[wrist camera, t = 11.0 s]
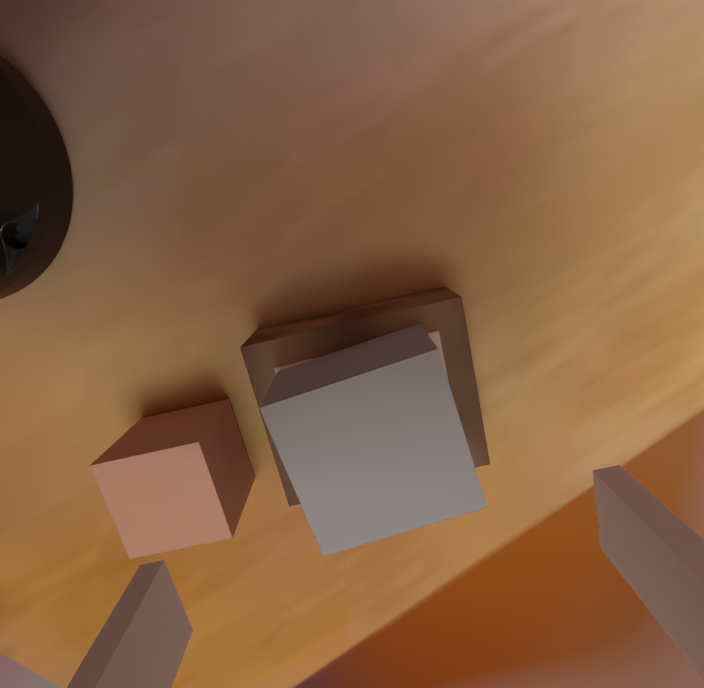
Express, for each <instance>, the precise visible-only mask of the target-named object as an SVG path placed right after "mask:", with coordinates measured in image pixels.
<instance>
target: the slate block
mask: <svg viewBox="0 0 704 688" xmlns="http://www.w3.org/2000/svg"><path fill="white" fill-rule="evenodd" d="M260 411H261V413H262V415H263V418H264V420H265V422H266V425H267V427H268V429H269V432H270V434H271V436H272V439H273V441H274V443H275V446H276V448H277V450H278V452H279V455H280V457H281V459H282V462H283V464H284V466H285V469H286V471H287V473H288V476H289V478H290V480H291V483H292V485H293V487H294V489H295V492H296V494H297V496H298V499H299V501H300V503H301V506H302V508H303V510H304V513H305V515H306V517H307V520H308V522H309V524H310V527H311V529H312V531H313V533H314V536H315V538H316V540H317V543H318V545H319V547H320V550H321V552H322V554H323V556H327V555H330V554H333V553H337V552H340V551H343V550H347V549H350V548H353V547H357V546H360V545H363V544H367V543H370V542H373V541H377V540H380V539H383V538H387V537H390V536H393V535H397V534H400V533H403V532H407V531H410V530H413V529H417V528H420V527H423V526H427V525H430V524H433V523H437V522H440V521H443V520H447V519H450V518H453V517H457V516H460V515H463V514H467V513H470V512H473V511H477V510H480V509H483V508H487V505H486V502H485V499H484V496H483V492H482V489H481V486H480V483H479V479H478V476H477V473H476V470H475V466H474V463H473V460H472V457H471V453H470V450H469V447H468V444H467V440H466V437H465V434H464V431H463V427H462V424H461V421H460V418H459V415H458V411H457V408H456V405H455V402H454V398H453V395H452V392H451V389H450V385H449V382H448V379H447V376H446V372H445V369H444V366H443V363H442V359H441V356H440V353H439V350H438V348H437V346H436V345H435V344H434V342H433V341H432V340H431V338H430V337H429V336H428V334H427V333H426V332H425V330H424V329H423V328H422V326H421V325H420V324H417V325H414V326H411V327H408V328H405V329H402V330H399V331H396V332H393V333H390V334H387V335H384V336H381V337H378V338H375V339H372V340H369V341H366V342H363V343H360V344H357V345H354V346H352V347H349V348H346V349H343V350H340V351H337V352H334V353H331V354H328V355H325V356H322V357H319V358H316V359H313V360H310V361H307V362H304V363H301V364H298V365H295V366H292V367H289V368H286V369H283V370H280V371H278V372H277V374H276V376H275V378H274V380H273V382H272V384H271V386H270V388H269V390H268V392H267V394H266V396H265V398H264V400H263V402H262V404H261V406H260Z"/></svg>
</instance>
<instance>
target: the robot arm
mask: <svg viewBox="0 0 704 688" xmlns="http://www.w3.org/2000/svg"><path fill="white" fill-rule="evenodd" d="M71 202H72V188H71V176H70V169H69V164H68V159H67V156H66V152H65V148H64V145H63V142H62V139H61V137H60V135H59V132H58V130H57V127H56V125H55V123H54V121H53V119H52V117H51V115H50V114H49V112H48V110H47V108H46V107H45V105H44V104H43V102H42V101H41V99H40V97H39V96H38V95H37V93H36V92H35V91H34V89H33V88H32V87H31V86H30V84H29V83H28V82H27V81H26V80H25V78H24V77H23V76H22V75H21V74H20V73H19V72H18V71H17V70H16V69H15V68H14V67H13V66H12V65H11V64H10V63H9V62H7V61H6V60H5V59H4V58H3V57H1V56H0V299H1V298H4V297H6V296H9V295H11V294H13V293H16V292H18V291H19V290H21V289H23V288H24V287H26V286H27V285H29V284H30V283H32V282H33V281H34V280H35V279H36V278H38V277H39V276H40V275H41V274H42V273H43V272H44V271H45V269H46V268H47V267H48V266H49V264H50V263H51V262H52V260H53V259H54V257H55V256H56V254H57V252H58V250H59V248H60V246H61V244H62V242H63V240H64V237H65V234H66V231H67V227H68V223H69V218H70V213H71ZM593 478H594V488H595V498H596V508H597V518H598V528H599V538H600V548H601V549H602V551H603V552H604V553H605V554H606V556H607V557H608V558H609V559H610V561H611V562H612V563H613V565H614V566H615V567H616V568H617V570H618V571H619V572H620V574H621V575H622V576H623V577H624V579H625V580H626V581H627V582H628V584H629V585H630V586H631V588H632V589H633V590H634V591H635V593H636V594H637V595H638V596H639V598H640V599H641V600H642V602H643V603H644V604H645V605H646V606H647V608H648V609H649V611H650V612H651V613H652V614H653V615H654V617H655V618H656V619H657V621H658V622H659V623H660V624H661V626H662V627H663V628H664V630H665V631H666V632H667V633H668V635H669V636H670V637H671V639H672V640H673V641H674V642H675V644H676V645H677V646H678V647H679V648H680V650H681V651H682V653H683V654H684V655H685V656H686V658H687V659H688V660H689V662H690V663H691V664H692V665H693V667H694V668H695V669H696V670H697V672H698V673H699V674H700V676H701V677H702V678H703V679H704V540H703V539H702V538H701V537H700V536H698V535H697V534H696V533H695V532H694V531H693V530H692V529H691V528H690V527H688V526H687V525H686V524H685V523H684V522H683V521H682V520H680V519H679V518H678V517H677V516H676V515H675V514H674V513H673V512H671V511H670V510H669V509H668V508H667V507H666V506H665V505H663V504H662V503H661V502H660V501H659V500H658V499H657V498H656V497H655V496H653V495H652V494H651V493H650V492H649V491H648V490H647V489H645V488H644V487H643V486H642V485H641V484H640V483H639V482H638V481H636V480H635V479H634V478H633V477H632V476H630V474H629V473H627V472H626V471H625V470H624V469H623V468H622V467H621V466H620V465H617V466H613V467H608V468H603V469H598V470H593ZM192 631H193V629H192V626H191V624H190V621H189V619H188V617H187V614H186V612H185V609H184V607H183V605H182V602H181V600H180V597H179V595H178V593H177V590H176V588H175V585H174V583H173V581H172V578H171V576H170V573H169V571H168V569H167V566H166V564H165V561H164V560H163V561H158V562H153V563H148V564H144V565H140V566H139V568H138V570H137V571H136V573H135V575H134V576H133V578H132V580H131V581H130V583H129V585H128V586H127V588H126V590H125V591H124V593H123V595H122V596H121V598H120V600H119V601H118V603H117V605H116V606H115V608H114V610H113V611H112V613H111V615H110V616H109V618H108V620H107V621H106V623H105V625H104V626H103V628H102V630H101V631H100V633H99V635H98V636H97V638H96V640H95V641H94V643H93V645H92V646H91V648H90V650H89V651H88V653H87V655H86V656H85V658H84V660H83V661H82V663H81V665H80V666H79V668H78V670H77V671H76V673H75V675H74V676H73V678H72V680H71V681H70V683H69V685H68V686H67V688H171V687H172V684H173V681H174V679H175V676H176V673H177V671H178V668H179V665H180V663H181V660H182V657H183V655H184V652H185V649H186V647H187V644H188V641H189V639H190V636H191V633H192Z"/></svg>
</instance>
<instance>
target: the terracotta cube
mask: <svg viewBox="0 0 704 688" xmlns="http://www.w3.org/2000/svg"><path fill="white" fill-rule="evenodd" d="M90 467H91V469H92V472H93V474H94V476H95V479H96V481H97V483H98V486H99V488H100V490H101V493H102V495H103V497H104V500H105V502H106V504H107V507H108V509H109V512H110V514H111V516H112V519H113V521H114V523H115V526H116V528H117V530H118V533H119V535H120V537H121V540H122V542H123V544H124V547H125V549H126V551H127V554H128V556H129V558H130V559H132V558H137V557H142V556H147V555H152V554H156V553H161V552H166V551H171V550H176V549H181V548H186V547H191V546H196V545H200V544H205V543H210V542H215V541H220V540H225V539H230V538H233V535H234V533H235V530H236V527H237V525H238V522H239V519H240V517H241V514H242V511H243V509H244V506H245V503H246V501H247V498H248V495H249V493H250V490H251V487H252V485H253V482H254V479H255V478H254V475H253V471H252V468H251V465H250V462H249V459H248V456H247V453H246V450H245V447H244V444H243V440H242V437H241V434H240V431H239V428H238V425H237V422H236V419H235V416H234V413H233V410H232V406H231V403H230V400H229V399H226V400H221V401H217V402H212V403H208V404H203V405H199V406H194V407H190V408H185V409H181V410H176V411H172V412H167V413H163V414H158V415H154V416H149V417H144V418H141V419H140V420H139V421H138V422H137V423H136V424H135V425H134V426H132V427H131V428H130V429H129V430H128V431H127V432H126V433H125V434H124V435H123V436H122V437H121V438H119V439H118V440H117V441H116V442H115V443H114V444H113V445H112V446H111V447H110V448H109V449H107V450H106V451H105V452H104V453H103V454H102V455H101V456H100V457H99V458H98V459H97V460H96V461H94V462H93V463H92V464H91V465H90Z"/></svg>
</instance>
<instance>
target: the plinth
mask: <svg viewBox="0 0 704 688" xmlns="http://www.w3.org/2000/svg"><path fill="white" fill-rule="evenodd" d="M417 324H420V325H421V326H422V328H423V329H424V330H425V332H426V333H427V334H428V336H429V337H430V338H431V340H432V341H433V342H434V344H435V345H436V346H437V348H438V350H439V353H440V356H441V359H442V363H443V366H444V369H445V372H446V376H447V379H448V382H449V385H450V389H451V392H452V395H453V398H454V402H455V405H456V408H457V411H458V415H459V418H460V421H461V424H462V427H463V431H464V434H465V437H466V440H467V444H468V447H469V450H470V453H471V457H472V460H473V463H474V466H475V467H479V466H484V465H488V464H490V462H489V456H488V450H487V444H486V438H485V432H484V426H483V421H482V415H481V409H480V403H479V397H478V391H477V385H476V379H475V374H474V368H473V362H472V356H471V350H470V344H469V338H468V333H467V327H466V321H465V315H464V309H463V303H462V297H461V296H459V295H458V294H456V293H455V292H453V291H451V290H450V289H448V288H446V287H442V288H438V289H433V290H429V291H425V292H420V293H416V294H412V295H407V296H403V297H399V298H395V299H390V300H386V301H382V302H377V303H373V304H369V305H364V306H360V307H356V308H351V309H347V310H343V311H338V312H334V313H330V314H325V315H321V316H317V317H312V318H308V319H304V320H299V321H295V322H291V323H286V324H282V325H278V326H274V327H269V328H265V329H261V330H256V331H255V332H254V333H253V334H252V335H251V336H250V337H249V338H248V340H247V341H246V342H245V343H244V344H243V345H242V346H241V347H240V348H241V352H242V355H243V358H244V361H245V364H246V368H247V371H248V374H249V377H250V381H251V384H252V387H253V390H254V394H255V397H256V400H257V403H258V407H259V410H260V406H261V404H262V402H263V400H264V398H265V396H266V394H267V392H268V390H269V388H270V386H271V384H272V382H273V380H274V378H275V376H276V374H277V372H278V371H280V370H283V369H286V368H289V367H292V366H295V365H298V364H301V363H304V362H307V361H310V360H313V359H316V358H319V357H322V356H325V355H328V354H331V353H334V352H337V351H340V350H343V349H346V348H349V347H352V346H354V345H357V344H360V343H363V342H366V341H369V340H372V339H375V338H378V337H381V336H384V335H387V334H390V333H393V332H396V331H399V330H402V329H405V328H408V327H411V326H414V325H417ZM260 413H261V411H260ZM261 416H262V420H263V423H264V426H265V429H266V432H267V436H268V439H269V442H270V445H271V449H272V452H273V455H274V458H275V462H276V465H277V468H278V471H279V475H280V478H281V481H282V484H283V488H284V491H285V494H286V497H287V500H288V504H289V506H293V505H297V504H301V503H300V501H299V499H298V496H297V494H296V492H295V489H294V487H293V485H292V483H291V480H290V478H289V476H288V473H287V471H286V469H285V466H284V464H283V462H282V459H281V457H280V455H279V452H278V450H277V448H276V446H275V443H274V441H273V439H272V436H271V434H270V432H269V429H268V427H267V425H266V422H265V420H264V418H263V415H262V413H261Z"/></svg>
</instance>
